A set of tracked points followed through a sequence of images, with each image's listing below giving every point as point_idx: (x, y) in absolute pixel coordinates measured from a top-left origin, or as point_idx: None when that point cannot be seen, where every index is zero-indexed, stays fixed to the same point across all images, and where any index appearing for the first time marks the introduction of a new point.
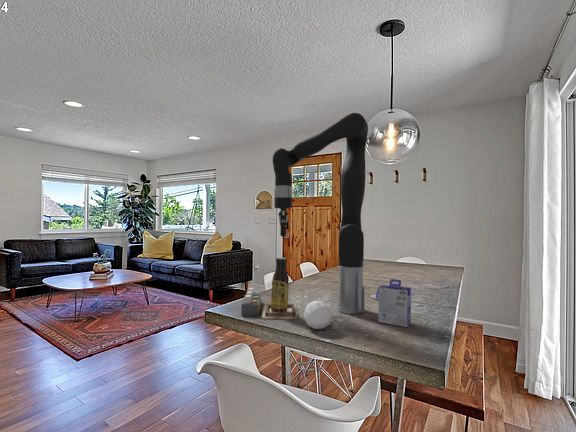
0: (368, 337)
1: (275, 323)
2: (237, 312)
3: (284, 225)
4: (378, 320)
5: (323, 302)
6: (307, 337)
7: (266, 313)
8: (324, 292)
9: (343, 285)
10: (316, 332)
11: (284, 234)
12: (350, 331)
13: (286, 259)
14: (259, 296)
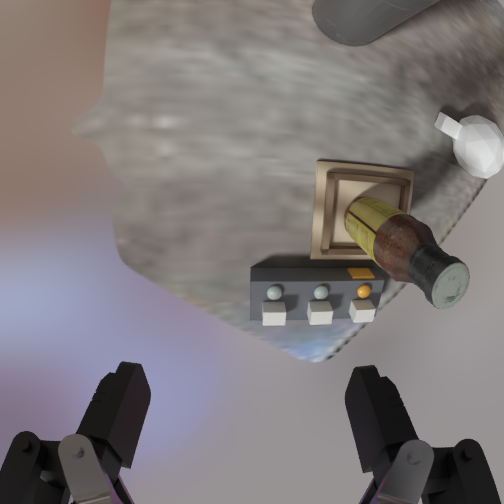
0: (491, 73)
1: None
2: None
3: (446, 450)
4: (429, 6)
5: (499, 137)
6: None
7: None
8: (113, 61)
9: (406, 19)
10: None
11: (387, 380)
12: (474, 87)
13: (462, 262)
14: (300, 283)
